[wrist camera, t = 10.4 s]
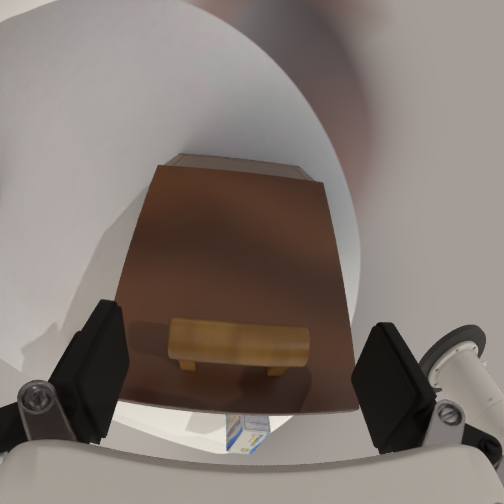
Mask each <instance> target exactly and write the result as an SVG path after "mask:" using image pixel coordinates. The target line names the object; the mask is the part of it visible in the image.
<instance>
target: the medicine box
mask: <svg viewBox="0 0 504 504" xmlns="http://www.w3.org/2000/svg"><path fill="white" fill-rule="evenodd" d="M270 432H271V430H270V422H269V416H259V415H231V414H226V448H227V451H228V452H233V453H241V454H252V453H253V451H255V449H256V448H257V447H258V446H259V445H260V444H261V443H262V442H263V440H264V439H265V438H266V437H267V436H268V435H269V433H270Z"/></svg>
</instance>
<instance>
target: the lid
mask: <svg viewBox="0 0 504 504" xmlns="http://www.w3.org/2000/svg"><path fill="white" fill-rule="evenodd" d="M114 301H116V302H117V305H118V306H121V307H122V313H123V321H124V328H125V335H126V341H127V347H128V353H129V359H130V364H129V369H128V372H127V375H126V378H125V380H124V383H123V386H122V389H121V392H120V395H119V398H118V401H122V402H128V403H133V404H139V405H145V406H152V407H158V408H166V409H174V410H182V411H191V412H202V413H214V414H231V415H259V416H289V415H317V414H333V413H345V412H353V411H356V410H358V409H359V402H358V399H357V396H356V393H355V391H354V388H353V385H352V382H351V375H352V372H353V370H354V368H355V359H354V351H353V344H352V336H351V328H350V321H349V314H348V307H347V301H346V294H345V288H344V282H343V277H342V271H341V265H340V260H339V255H338V249H337V244H336V239H335V234H334V229H333V225H332V220H331V215H330V211H329V206H328V202H327V197H326V193H325V189H324V184H323V182H317V181H310V180H303V179H296V178H289V177H282V176H274V175H266V174H258V173H249V172H240V171H230V170H220V169H209V168H197V167H183V166H168V165H158V166H157V169H156V171H155V174H154V177H153V179H152V182H151V185H150V187H149V190H148V193H147V195H146V198H145V201H144V204H143V207H142V210H141V212H140V215H139V218H138V221H137V224H136V227H135V231H134V234H133V237H132V240H131V243H130V246H129V250H128V253H127V256H126V260H125V263H124V267H123V270H122V274H121V277H120V281H119V285H118V289H117V292H116V296H115V300H114Z"/></svg>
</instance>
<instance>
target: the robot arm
mask: <svg viewBox="0 0 504 504" xmlns="http://www.w3.org/2000/svg"><path fill="white" fill-rule="evenodd" d="M477 355H478V347H477V345H476V344H475V343H474V342H473V341H464V342H461V343H459V344H456V345H455V346H453V347H452V348H450V349H449V350H447V351H446V352H445V353H444V354H443V355H442V356H441V357H440V358H439V359H438V360H437V361H436V363H435V364H434V365H433V367H432V368H431V370H430V373H429V376H428V380H429V381H428V380H427V378H426V376H425V375H424V373H423V371H422V369H421V368H420V366H419V364H418V363H417V361H416V359H415V358H414V356H413V355H412V353H411V351H410V349H409V348H408V346H407V345H406V343H405V341H404V340H403V338H402V337H401V335H400V333H399V332H398V330H397V329H396V327H395V326H394V324H393V323H390V322H389V323H388V322H379V323H377V324H376V326H374V327H373V328H372V329H371V332H370V334H369V337H368V339H367V341H366V344H365V346H364V348H363V351H362V353H361V355H360V357H359V359H358V362H357V364H356V366H355V368H354V370H353V372H352V375H351V382H352V385H353V388H354V391H355V393H356V396H357V399H358V402H359V404H360V407H361V410H362V413H363V416H364V419H365V421H366V424H367V427H368V430H369V433H370V436H371V439H372V442H373V445H374V447H375V448H378V450H379V454H380V455H377V456H372V457H366V458H359V459H352V460H345V461H336V462H326V463H316V464H301V465H277V466H248V465H247V466H246V465H223V464H222V465H221V464H208V463H197V462H187V461H178V460H170V459H164V458H158V457H151V456H145V455H139V454H134V453H128V452H123V451H118V450H114V449H109V448H104V447H99V446H94V445H90V442H91V443H94V444H98V445H99V444H100V441H101V438H106V436H107V433H108V430H109V426H110V423H111V420H112V417H113V414H114V411H115V407H116V404H117V401H118V398H119V395H120V392H121V389H122V386H123V383H124V380H125V378H126V375H127V372H128V369H129V364H130V359H129V353H128V347H127V341H126V335H125V328H124V321H123V313H122V307H121V306H118V305H117V302H116V301H110V300H103V299H102V300H100V301H99V303H98V305H97V306H96V308H95V309H94V311H93V313H92V314H91V316H90V317H89V319H88V321H87V322H86V324H85V326H84V327H83V329H82V331H78V332H76V334H75V335H74V337H73V338H72V340H71V342H70V343H69V345H68V347H67V348H66V350H65V352H64V354H63V355H62V357H61V359H60V361H59V362H58V364H57V366H56V368H55V369H54V371H53V373H52V375H51V377H50V379H49V380H48V382H47V381H44V380H33V381H30V382H28V383H26V384H25V385H24V386H22V388H21V389H20V390H19V392H18V396H17V402H15V403H12V404H10V405H7V406H4V407H1V408H0V504H504V395H503V394H502V393H501V391H500V390H499V388H498V387H497V385H496V384H495V382H494V381H493V380H492V378H491V377H490V376H489V374H488V373H487V371H486V370H485V369H484V367H485V366H486V364H487V362H486V361H480V360H479V358H478V357H477ZM430 384H431V385H430ZM431 386H432V387H434V388H442V390H443V392H444V394H445V395H446V397H447V399H448V400H441V401H439V402H436V400H435V398H436V397H437V396H436V394H435V392H434V390H433V388H432V387H431ZM391 452H393V453H391ZM386 453H389V454H386ZM381 454H383V455H381Z"/></svg>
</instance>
